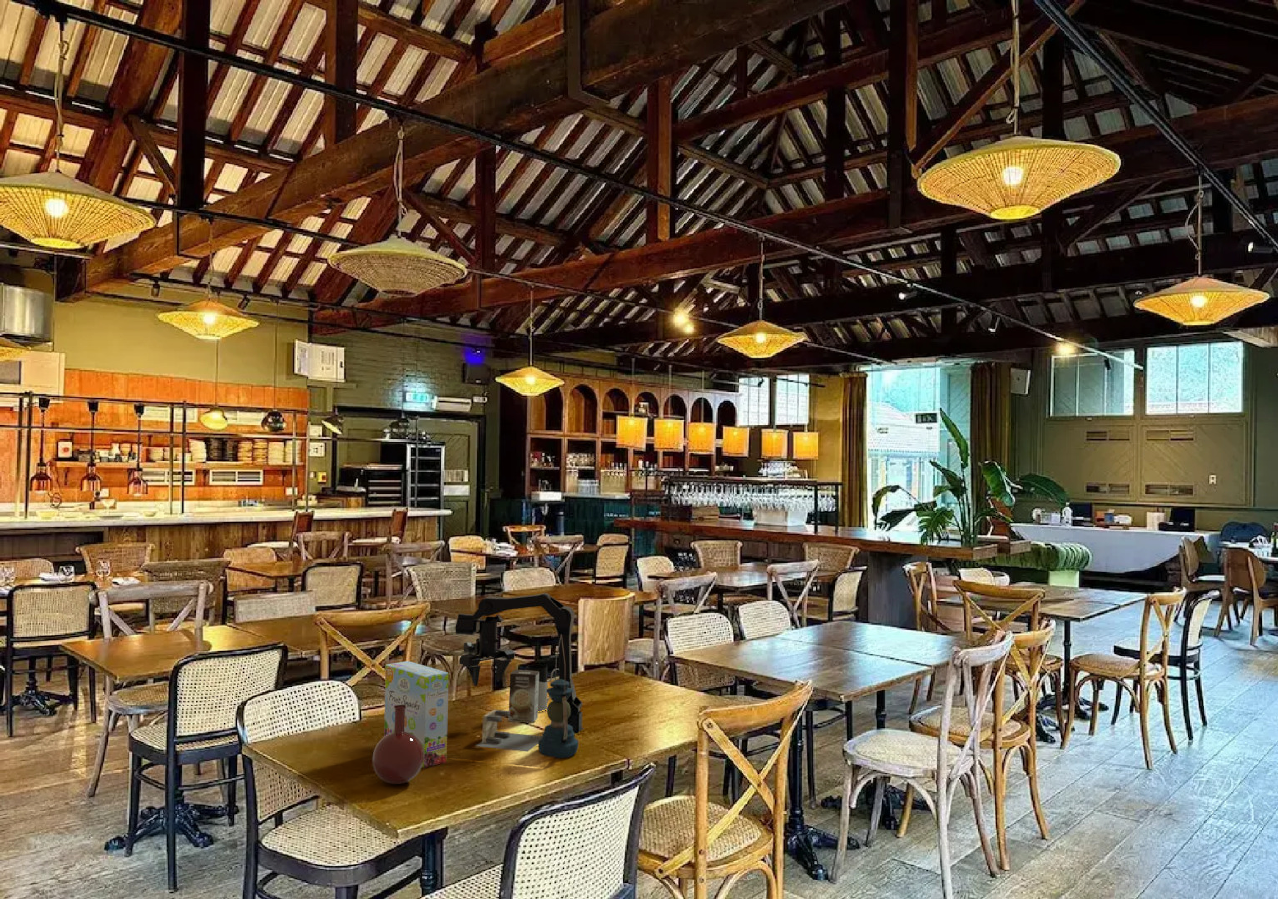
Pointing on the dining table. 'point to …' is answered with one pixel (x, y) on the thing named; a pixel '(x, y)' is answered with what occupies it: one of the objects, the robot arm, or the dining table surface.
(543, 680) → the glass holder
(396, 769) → the round-bottom flask
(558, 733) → the lantern
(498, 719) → the footstool
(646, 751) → the dining table surface
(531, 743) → the rubber mat
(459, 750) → the dining table surface
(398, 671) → the snack box
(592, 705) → the dining table surface
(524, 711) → the coffee box
